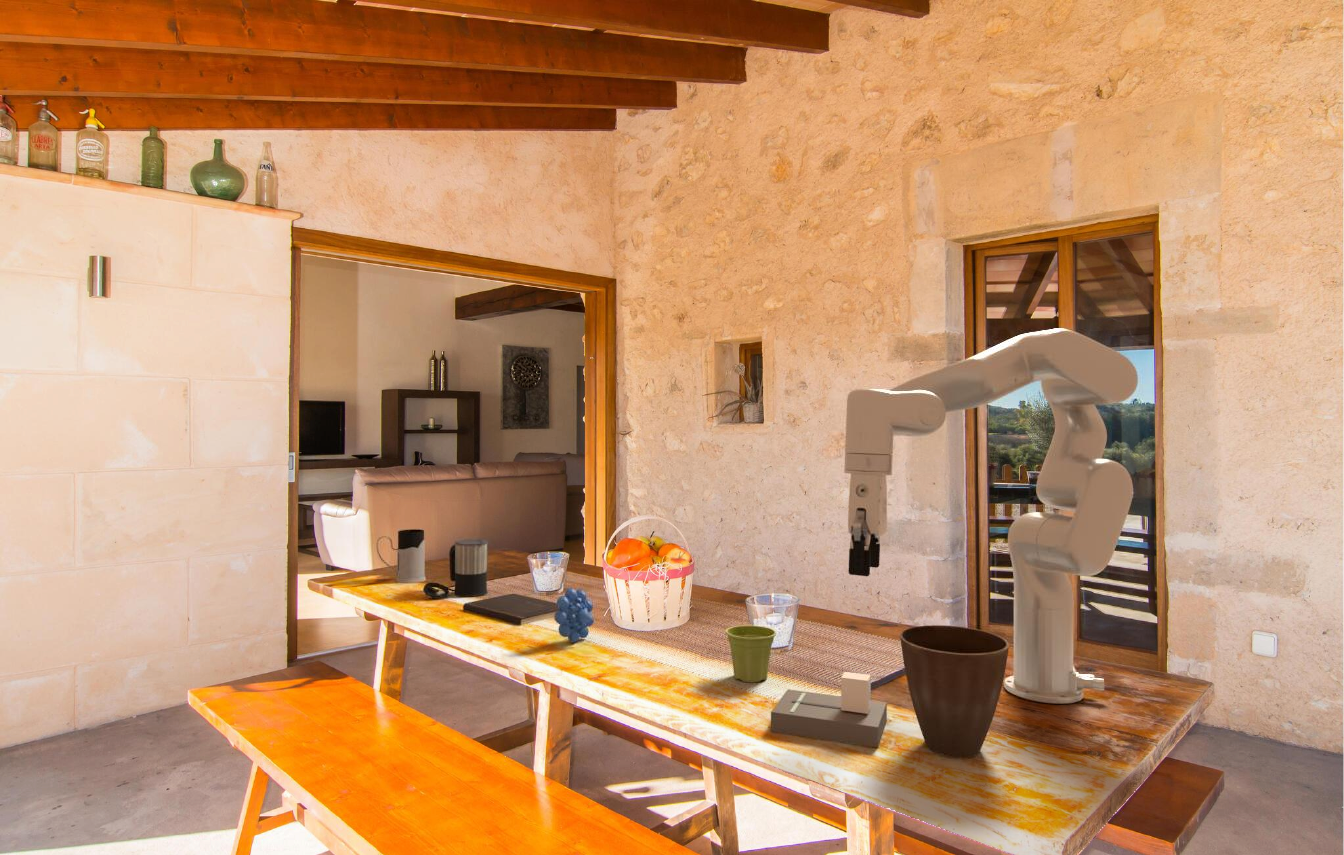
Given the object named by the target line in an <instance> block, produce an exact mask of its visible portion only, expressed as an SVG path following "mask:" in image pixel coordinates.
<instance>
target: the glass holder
mask: <svg viewBox="0 0 1344 855" xmlns="http://www.w3.org/2000/svg"><path fill="white" fill-rule="evenodd" d="M383 538H387V539H388V540H389V542H390V548H391V549H392V550H393V551H397V552H396V553H397V554H396V555H397V556H396V558H397V560H396V561H397V563H396V564H397V566H396V568H397V569H395V568H394V567H393V566H391V565H390V564H388V562H386V561H385V560H384V559H383V557H382V556H381V553H380V551H379V546H378V545H379V540H381V539H383ZM425 539H426V538H425V530H424V529H419V528H418V529H416V528H413V529H401V530H398V531H397V548H393V541H392V539H391V538H390V537H389V536H387V535H382V536H380V537H379V538H377V541H376V552H377V555H378V557H379V559H380V561H381V562H383V564H385V565H386V566H387V567H389V568H390V569H391V570H393V572H395V576H397V577H396V580H395V582H396V583H397V584H398V583H399V584H416V583H421V582H425V581H427V579H426V578H427V577H426V575H425V572H426V571H425V570H426V569H425V568H426V567H425V566H426V565H425V559H426V558H425V554H426V553H425V550H426V546H425V544H426V543H425V542H426V540H425Z"/></svg>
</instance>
